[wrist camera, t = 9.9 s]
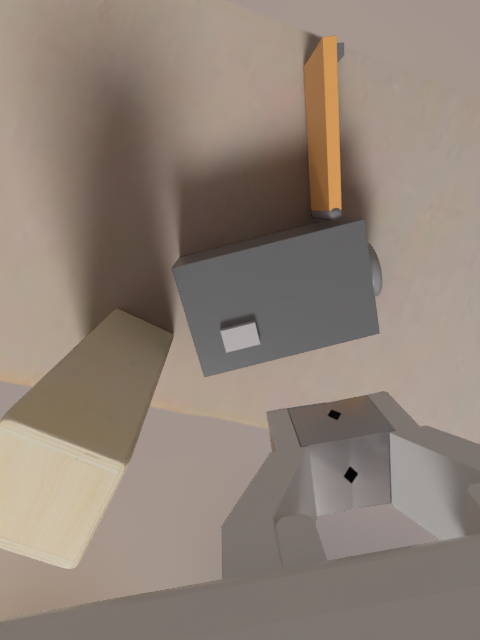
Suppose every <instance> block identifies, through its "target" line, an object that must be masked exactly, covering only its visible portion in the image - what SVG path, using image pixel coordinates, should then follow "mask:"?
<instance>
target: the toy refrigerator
mask: <svg viewBox="0 0 480 640" xmlns="http://www.w3.org/2000/svg"><path fill="white" fill-rule="evenodd" d="M173 337H174V336H173V334H172V333H170V332H168V331H165V330H163V329H161V328H159V327H157V326H155V325H152V324H150V323H148V322H146V321H144V320H142V319H140V318H137V317H135V316H133V315H131V314H129V313H126V312H124V311H122V310H120V309H115V310H114V311H112V312H111V313H110V314H109V315H108V316H107V317H106V318H105V319H104V320H103V321H102V322H101V323H100V324H99V325H98V326H97V327H96V328H95V329H94V330H92V331H91V332H90V333H89V334H88V335H87V336H86V337H85V338H84V339H83V340H82V341H81V342H80V343H79V344H78V345H77V346H76V347H75V348H74V349H73V350H72V351H71V352H70V353H69V354H68V355H66V356H65V357H64V358H63V359H62V360H61V361H60V362H59V363H58V364H57V365H56V366H55V367H54V368H53V369H52V370H51V371H49V372H48V373H47V374H46V375H45V376H44V377H43V378H42V379H41V380H40V381H39V382H38V383H37V384H36V385H35V386H34V387H33V388H32V389H31V390H29V391H28V392H27V393H26V394H25V395H24V396H23V397H22V398H21V399H20V400H19V401H18V402H17V403H16V404H15V405H14V406H13V407H12V408H11V409H10V410H8V412H6V414H5V415H4V416H3V418H2V419H1V421H0V548H2V549H5V550H8V551H11V552H14V553H17V554H21V555H24V556H27V557H30V558H34V559H37V560H40V561H43V562H46V563H49V564H52V565H55V566H59V567H62V568H67V569H73V568H75V567H76V566H77V565H78V563H79V562H80V560H81V558H82V556H83V554H84V552H85V550H86V548H87V546H88V544H89V542H90V540H91V538H92V536H93V534H94V532H95V531H96V529H97V527H98V525H99V523H100V521H101V519H102V517H103V515H104V512H105V511H106V509H107V507H108V505H109V503H110V501H111V499H112V497H113V495H114V493H115V491H116V489H117V487H118V485H119V483H120V481H121V479H122V477H123V475H124V473H125V471H126V469H127V467H128V465H129V462H130V460H131V457H132V455H133V452H134V448H135V446H136V443H137V440H138V438H139V435H140V432H141V428H142V426H143V423H144V420H145V417H146V414H147V412H148V408H149V406H150V403H151V400H152V397H153V394H154V391H155V389H156V386H157V383H158V380H159V377H160V374H161V372H162V369H163V366H164V363H165V360H166V357H167V354H168V352H169V349H170V346H171V343H172V340H173Z"/></svg>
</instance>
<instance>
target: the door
mask: <svg viewBox="0 0 480 640" xmlns="http://www.w3.org/2000/svg"><path fill="white" fill-rule="evenodd" d="M343 56H344V43H337V36H329V37H323V38H322V39H321V41H320V42H319V44H318V45H317V47H316V49H315V50H314V52H313V53H312V55H311V57H310V58H309V60H308V61H307V63H306V65H305V66H304V84H305V103H306V122H307V141H308V160H309V179H310V198H311V210H312V212H311V215H312V217H313V218H317V219H326V220H339V219H340V218H341V215H342V212H341V210H342V206H341V172H340V138H339V103H338V69H337V63H338V62H339V61H340V60H341V58H342V57H343Z"/></svg>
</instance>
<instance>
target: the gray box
mask: <svg viewBox="0 0 480 640" xmlns="http://www.w3.org/2000/svg"><path fill="white" fill-rule="evenodd" d="M172 272H173V275H174V278H175V282H176V285H177V288H178V292H179V295H180V298H181V302H182V305H183V308H184V311H185V315H186V318H187V321H188V325H189V328H190V331H191V335H192V338H193V341H194V345H195V348H196V351H197V355H198V358H199V361H200V365H201V368H202V371H203V374H204V377H207V376H211V375H215V374H219V373H223V372H227V371H231V370H235V369H239V368H243V367H247V366H251V365H255V364H259V363H263V362H267V361H271V360H275V359H279V358H283V357H287V356H291V355H295V354H299V353H303V352H307V351H311V350H315V349H319V348H323V347H327V346H331V345H335V344H339V343H343V342H347V341H351V340H355V339H359V338H363V337H367V336H371V335H375V334H379V333H380V332H379V324H378V317H377V309H376V302H375V296H378V295H379V294H380V292H381V289H382V273H381V267H380V263H379V260H378V257H377V255H376V252H375V250H374V249H373V247H372V246H371V245H370V244H369V243H368V242H367V235H366V228H365V220H364V219H352V218H340V219H339V220H324V221H320V222H316V223H312V224H308V225H304V226H301V227H297V228H293V229H289V230H285V231H281V232H277V233H273V234H269V235H265V236H261V237H257V238H253V239H249V240H245V241H242V242H238V243H234V244H230V245H226V246H222V247H218V248H214V249H210V250H206V251H202V252H198V253H194V254H190V255H186V256H183V257H179V259H178V260H177V262H176V263H175V264H174V266H173V267H172Z"/></svg>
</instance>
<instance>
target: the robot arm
mask: <svg viewBox="0 0 480 640" xmlns="http://www.w3.org/2000/svg"><path fill="white" fill-rule="evenodd" d="M267 422H268V429H269V435H270V442H271V449H272V452H271V453H270V454H269V455H268V457H267V458H266V460H265V461H264V463H263V464H262V466H261V467H260V469H259V470H258V472H257V474H256V475H255V477H254V478H253V479H252V481H251V482H250V484H249V486H248V487H247V488H246V490H245V492H244V493H243V495H242V496H241V498H240V499H239V501H238V502H237V504H236V505H235V507H234V508H233V510H232V511H231V513H230V514H229V516H228V517H227V519H226V520H225V522H224V523H223V525H222V580H217V581H211V582H206V583H200V584H194V585H188V586H183V587H177V588H172V589H166V590H160V591H155V592H149V593H143V594H137V595H132V596H126V597H120V598H114V599H109V600H103V601H98V602H92V603H86V604H81V605H75V606H69V607H64V608H59V609H53V610H47V611H41V612H36V613H30V614H25V615H19V616H14V617H8V618H2V619H0V640H480V444H477V443H474V442H471V441H468V440H466V439H463V438H460V437H457V436H454V435H452V434H449V433H446V432H443V431H440V430H437V429H435V428H432V427H429V426H421V427H420V426H419V425H418V424H417V423H416V422H415V421H414V420H413V419H412V418H411V417H410V416H409V415H408V413H407V412H406V411H405V410H404V409H403V408H402V407H401V406H400V405H399V404H398V403H397V402H396V401H395V400H394V399H393V398H392V397H391V396H390V395H389V394H388V392H384V391H383V392H378V393H374V394H369V395H364V396H359V397H354V398H349V399H344V400H339V401H334V402H329V403H319V404H313V405H306V406H299V407H293V408H287V409H286V408H284V409H279V410H274V411H268V412H267ZM390 503H392V506H394V507H395V508H397V509H398V510H399V511H401V512H402V513H404V514H405V515H406V516H408V517H409V518H411V519H412V520H413V521H415V522H416V523H418V524H419V525H420V526H422V527H423V528H424V529H426V530H427V531H429V532H430V533H431V534H433V535H434V536H436V537H437V538H438V539H440V540H441V541H435V542H429V543H424V544H418V545H412V546H407V547H401V548H395V549H390V550H384V551H379V552H373V553H367V554H362V555H356V556H350V557H345V558H339V559H334V560H329V561H327V558H326V555H325V552H324V549H323V546H322V543H321V540H320V537H319V534H318V531H317V528H316V525H315V523H316V520H317V516H321V515H326V514H331V513H336V512H340V511H345V510H350V509H355V508H363V507H370V506H376V505H382V504H390Z"/></svg>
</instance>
